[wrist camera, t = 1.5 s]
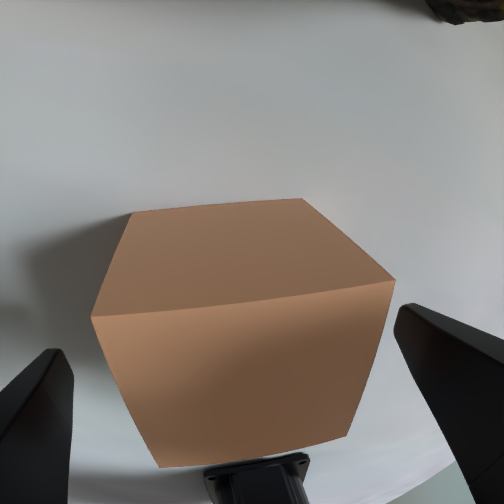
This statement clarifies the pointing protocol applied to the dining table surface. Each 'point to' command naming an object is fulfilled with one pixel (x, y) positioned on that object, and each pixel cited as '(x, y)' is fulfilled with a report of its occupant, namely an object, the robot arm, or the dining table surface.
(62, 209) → the dining table surface
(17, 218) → the dining table surface
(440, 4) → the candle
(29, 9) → the dining table surface
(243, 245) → the block
